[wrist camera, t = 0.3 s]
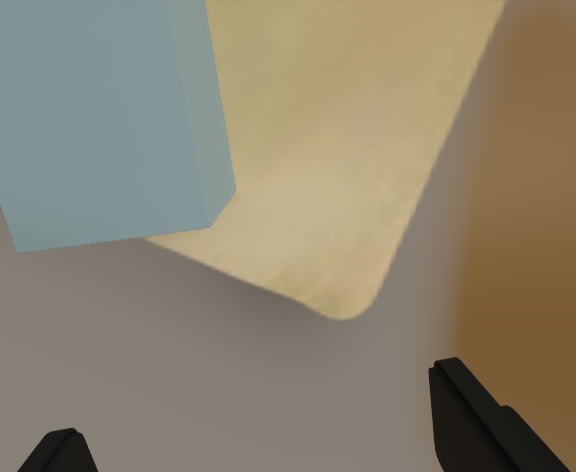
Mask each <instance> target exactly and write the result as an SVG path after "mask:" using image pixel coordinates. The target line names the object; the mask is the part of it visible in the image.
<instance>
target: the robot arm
mask: <svg viewBox="0 0 576 472" xmlns="http://www.w3.org/2000/svg"><path fill="white" fill-rule="evenodd" d="M429 384H430V395H431V408H432V420H433V432H434V443H435V451H436V455H437V458H438V460H439V463H440V465H441V467H442V469H443V471H444V472H570V471H569V470H568V468H567V467H566V466H565V465H564V464H563V463H562V462H561V461H560V460H559V459H558V457H557V456H556V455H555V454H554V453H553V452H552V451H551V450H550V449H549V447H548V446H547V445H546V444H545V443H544V442H543V441H542V440H541V439H540V438H539V436H538V435H537V434H536V433H535V432H534V431H533V430H532V429H531V428H530V426H529V425H528V424H527V423H526V422H525V421H524V420H523V419H522V418H521V417H520V415H519V414H518V413H517V412H515V410H514V409H512V408H511V407H509V406H507V405H505V406H500V405H499V404H498V403H497V402H496V401H495V399H494V398H493V397H492V396H491V395H490V394H489V392H488V391H487V390H486V389H485V388H484V387H483V386H482V384H481V383H480V382H479V381H478V380H477V379H476V378H475V376H474V375H473V374H472V373H471V372H470V371H469V369H468V368H467V367H466V366H465V365H464V364H463V362H462V361H461V360H460V359H459V358H457V357H454V358H448V359H443V360H438V361H435V363H434V367H432V368H429ZM17 472H98V470H97V468H96V465H95V463H94V460H93V458H92V455H91V453H90V450H89V449H88V446H87V443H86V441H85V438H84V436H83V434H82V433H78V432H77V430H76V429H74V428H68V429H62V430H57V431H52V432H49V433H47V434H46V435H45V436H44V437H43V439H42V440H41V441H40V443H39V444H38V445H37V446H36V448H35V449H34V450H33V452H32V453H31V454H30V456H29V457H28V458H27V459H26V461H25V462H24V464H23V465H22V466H21V467H20V469H19V470H18V471H17Z"/></svg>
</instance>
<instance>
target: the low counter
mask: <svg viewBox="0 0 576 472" xmlns="http://www.w3.org/2000/svg"><path fill="white" fill-rule="evenodd" d="M235 192H236V187H235V181H234V175H233V169H232V163H231V157H230V151H229V145H228V139H227V133H226V127H225V121H224V115H223V109H222V103H221V97H220V91H219V85H218V79H217V73H216V67H215V61H214V55H213V49H212V43H211V37H210V31H209V25H208V19H207V13H206V7H205V1H204V0H0V206H1V209H2V212H3V215H4V218H5V220H6V223H7V226H8V229H9V232H10V235H11V238H12V240H13V244H14V246H15V249H16V252H17V254H19V253H26V252H33V251H41V250H49V249H56V248H63V247H71V246H78V245H86V244H93V243H101V242H108V241H115V240H123V239H130V238H138V237H145V236H152V235H160V234H167V233H175V232H182V231H189V230H197V229H204V228H210V227H211V225H212V224H213V223H214V221H215V220H216V219H217V217H218V216H219V214H220V213H221V212H222V210H223V209H224V207H225V206H226V205H227V203H228V202H229V201H230V199H231V198H232V196H233V195H234V194H235Z"/></svg>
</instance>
